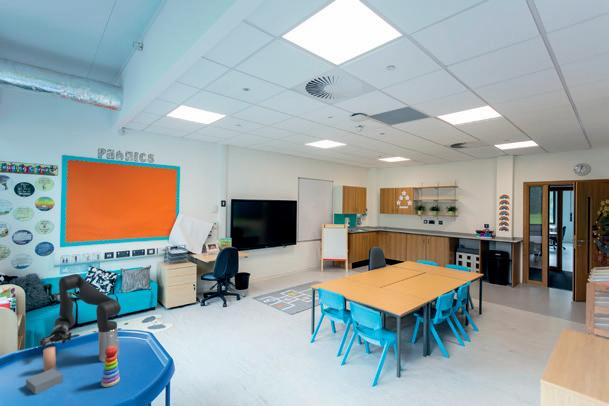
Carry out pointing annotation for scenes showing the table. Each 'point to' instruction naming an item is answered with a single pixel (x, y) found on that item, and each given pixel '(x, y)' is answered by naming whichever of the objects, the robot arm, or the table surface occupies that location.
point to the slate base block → (44, 381)
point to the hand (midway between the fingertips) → (53, 344)
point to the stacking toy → (110, 368)
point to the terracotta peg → (49, 358)
